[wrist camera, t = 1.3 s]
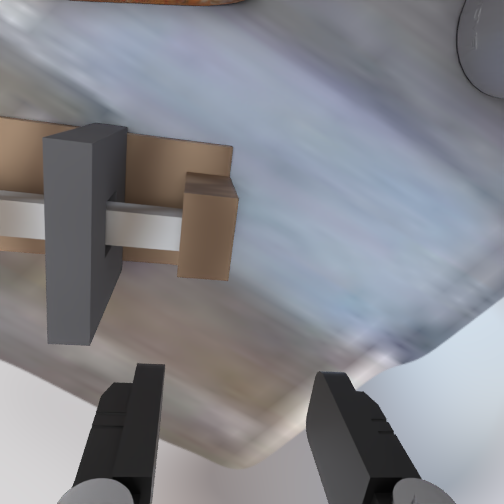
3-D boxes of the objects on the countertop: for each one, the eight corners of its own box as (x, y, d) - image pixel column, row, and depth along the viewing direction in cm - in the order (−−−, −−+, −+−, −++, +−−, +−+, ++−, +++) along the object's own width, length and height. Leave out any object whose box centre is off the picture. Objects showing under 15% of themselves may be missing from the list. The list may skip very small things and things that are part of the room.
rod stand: (231, 146, 30) (243, 162, 23) (217, 263, 33) (224, 310, 26) (-154, 96, 26) (-288, 97, 19) (-130, 234, 29) (-238, 281, 22)
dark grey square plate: (127, 127, 27) (92, 143, 18) (121, 269, 31) (89, 345, 21) (95, 122, 27) (42, 137, 18) (93, 267, 30) (47, 343, 21)
